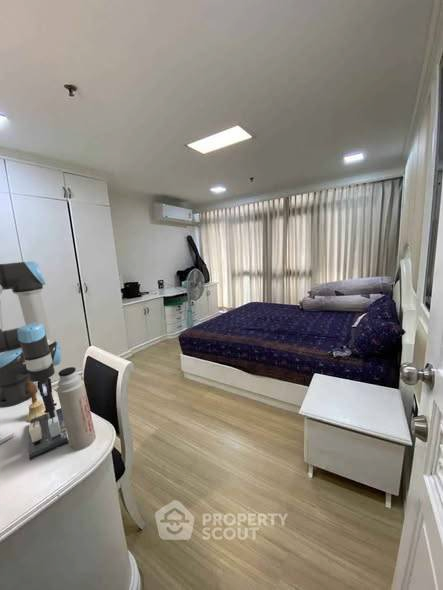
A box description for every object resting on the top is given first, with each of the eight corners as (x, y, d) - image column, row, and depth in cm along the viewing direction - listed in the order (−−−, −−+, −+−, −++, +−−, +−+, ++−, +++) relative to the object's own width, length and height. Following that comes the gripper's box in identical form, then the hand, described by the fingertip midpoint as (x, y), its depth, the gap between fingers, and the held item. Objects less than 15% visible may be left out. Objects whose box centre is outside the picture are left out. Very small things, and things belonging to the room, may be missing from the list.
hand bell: (46, 406, 111) (38, 374, 107) (52, 413, 105) (43, 379, 102) (23, 417, 104) (14, 383, 101) (28, 425, 99) (19, 389, 96)
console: (31, 425, 99) (30, 419, 98) (63, 412, 105) (62, 407, 105) (29, 460, 81) (27, 454, 81) (68, 443, 88) (66, 436, 87)
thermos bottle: (100, 434, 91) (85, 364, 85) (84, 451, 83) (67, 376, 77) (82, 432, 92) (66, 364, 87) (65, 449, 85) (46, 376, 79)
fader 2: (51, 434, 90) (47, 419, 89) (60, 431, 92) (57, 415, 91) (52, 441, 87) (48, 425, 86) (61, 437, 89) (57, 421, 87)
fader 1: (33, 439, 89) (29, 423, 88) (43, 435, 90) (38, 420, 89) (33, 446, 86) (28, 430, 84) (43, 442, 87) (38, 426, 86)
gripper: (27, 364, 91) (42, 420, 95) (26, 377, 80) (42, 439, 85) (52, 357, 95) (64, 411, 100) (53, 369, 84) (67, 428, 89)
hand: (54, 424), depth 92 cm, fingers closed
